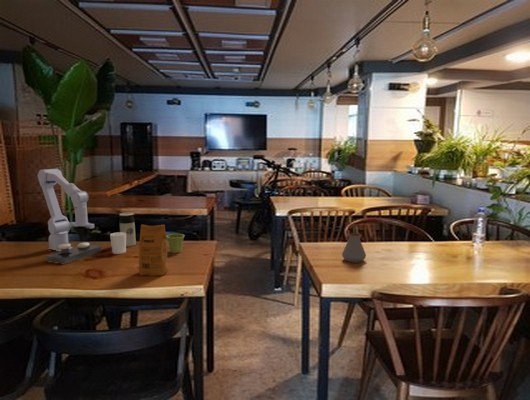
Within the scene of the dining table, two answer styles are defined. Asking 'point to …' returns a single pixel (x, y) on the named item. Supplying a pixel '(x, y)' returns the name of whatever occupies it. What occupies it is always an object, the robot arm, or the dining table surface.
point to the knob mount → (74, 254)
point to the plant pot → (175, 242)
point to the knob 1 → (64, 248)
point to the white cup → (118, 242)
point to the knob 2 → (83, 245)
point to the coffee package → (153, 250)
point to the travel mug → (128, 228)
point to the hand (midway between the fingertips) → (83, 240)
